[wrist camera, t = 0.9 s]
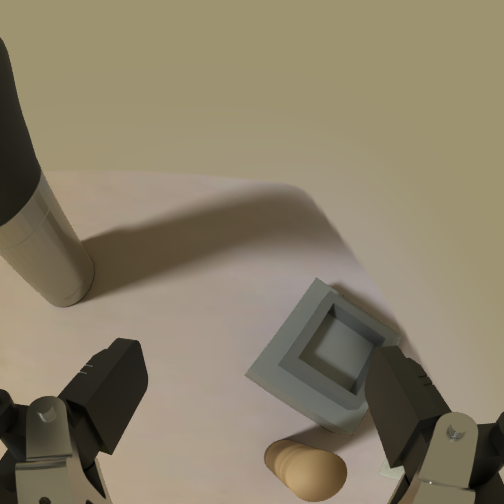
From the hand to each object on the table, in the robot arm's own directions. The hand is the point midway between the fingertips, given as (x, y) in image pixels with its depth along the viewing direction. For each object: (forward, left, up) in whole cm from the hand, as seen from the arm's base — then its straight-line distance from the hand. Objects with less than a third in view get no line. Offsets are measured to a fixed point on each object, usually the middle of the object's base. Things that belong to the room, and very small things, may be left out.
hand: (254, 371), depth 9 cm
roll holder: (+6, +10, -23) cm, 26 cm away
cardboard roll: (+9, -2, -23) cm, 25 cm away
